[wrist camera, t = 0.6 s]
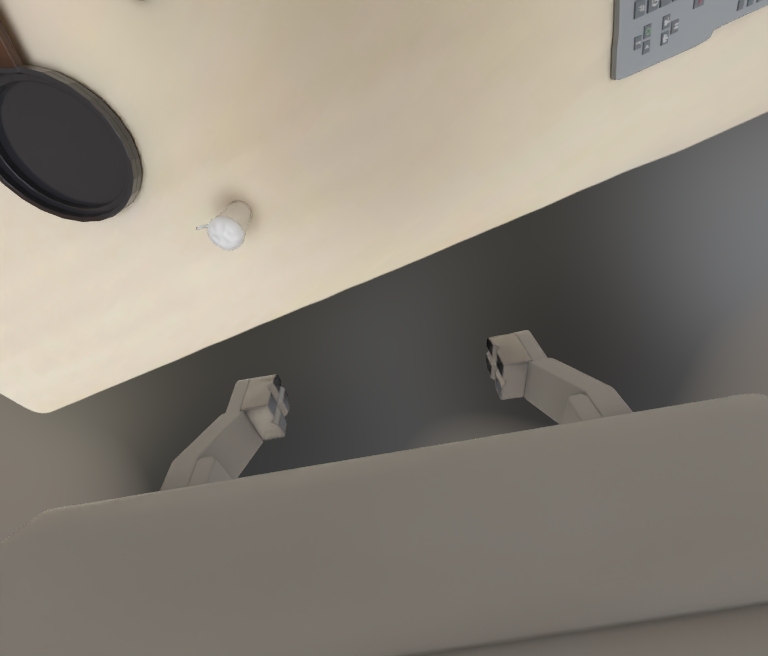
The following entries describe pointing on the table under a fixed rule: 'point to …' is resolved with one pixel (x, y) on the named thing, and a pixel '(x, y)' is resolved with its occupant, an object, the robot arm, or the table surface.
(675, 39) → the office telephone
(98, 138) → the pan
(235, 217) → the milkshake
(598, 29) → the table surface
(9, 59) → the pan handle
